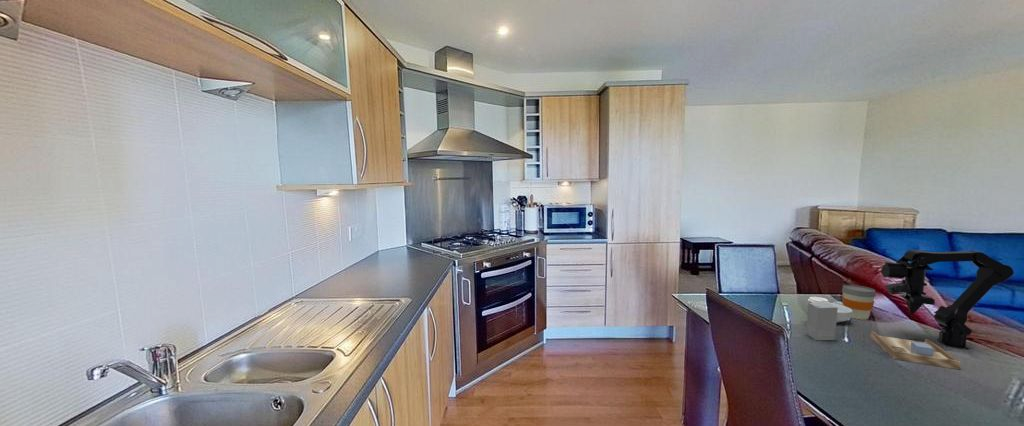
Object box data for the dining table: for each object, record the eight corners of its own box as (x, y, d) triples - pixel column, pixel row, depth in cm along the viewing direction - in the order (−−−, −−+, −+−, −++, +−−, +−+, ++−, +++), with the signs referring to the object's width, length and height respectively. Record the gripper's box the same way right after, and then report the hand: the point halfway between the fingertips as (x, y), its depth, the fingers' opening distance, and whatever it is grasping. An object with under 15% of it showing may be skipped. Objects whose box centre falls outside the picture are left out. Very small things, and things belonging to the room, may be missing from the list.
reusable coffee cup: (869, 314, 187) (871, 286, 185) (877, 322, 176) (879, 293, 175) (837, 310, 193) (839, 283, 192) (843, 317, 183) (845, 289, 181)
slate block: (926, 354, 141) (927, 343, 140) (932, 359, 137) (933, 348, 136) (910, 352, 143) (911, 341, 142) (916, 357, 139) (917, 346, 138)
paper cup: (831, 330, 168) (833, 301, 167) (815, 330, 168) (817, 301, 167) (817, 323, 176) (819, 296, 175) (802, 323, 176) (803, 296, 175)
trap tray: (927, 345, 151) (928, 339, 151) (959, 369, 133) (960, 361, 132) (870, 337, 160) (871, 331, 160) (893, 358, 141) (893, 351, 141)
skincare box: (824, 334, 163) (826, 301, 162) (836, 341, 156) (839, 307, 155) (804, 334, 164) (806, 301, 163) (816, 341, 157) (818, 306, 156)
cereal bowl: (860, 327, 171) (861, 313, 170) (820, 325, 174) (821, 311, 174) (836, 314, 187) (837, 301, 187) (800, 312, 191) (801, 299, 190)
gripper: (880, 272, 167) (877, 304, 168) (899, 282, 150) (896, 317, 152) (913, 274, 162) (910, 308, 163) (937, 285, 145) (933, 322, 147)
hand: (911, 313), depth 156 cm, fingers closed
